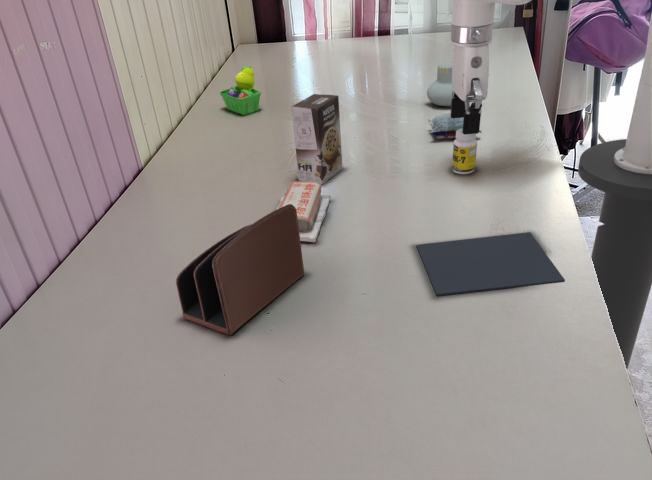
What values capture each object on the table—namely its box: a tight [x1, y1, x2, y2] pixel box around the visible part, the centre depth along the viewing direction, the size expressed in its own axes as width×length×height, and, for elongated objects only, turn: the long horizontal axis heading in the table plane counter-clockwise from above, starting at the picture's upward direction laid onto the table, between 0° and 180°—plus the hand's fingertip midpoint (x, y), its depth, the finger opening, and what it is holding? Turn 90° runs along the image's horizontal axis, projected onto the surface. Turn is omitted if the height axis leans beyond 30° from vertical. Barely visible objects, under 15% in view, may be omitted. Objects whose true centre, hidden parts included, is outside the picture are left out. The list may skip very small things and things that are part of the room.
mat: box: [416, 231, 566, 297], centre depth 105 cm, size 20×16×1 cm
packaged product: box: [275, 180, 331, 243], centre depth 122 cm, size 18×5×10 cm
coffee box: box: [291, 93, 343, 185], centre depth 135 cm, size 9×6×16 cm
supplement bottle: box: [451, 128, 478, 175], centre depth 132 cm, size 5×5×8 cm
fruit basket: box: [219, 65, 262, 116], centre depth 179 cm, size 11×9×11 cm
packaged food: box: [427, 112, 482, 140], centre depth 150 cm, size 9×12×5 cm
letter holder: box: [175, 204, 305, 336], centre depth 100 cm, size 10×20×14 cm, turn 145°
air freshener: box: [426, 60, 455, 108], centre depth 167 cm, size 11×8×10 cm
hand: (464, 125), depth 129 cm, fingers open, 9 cm apart
